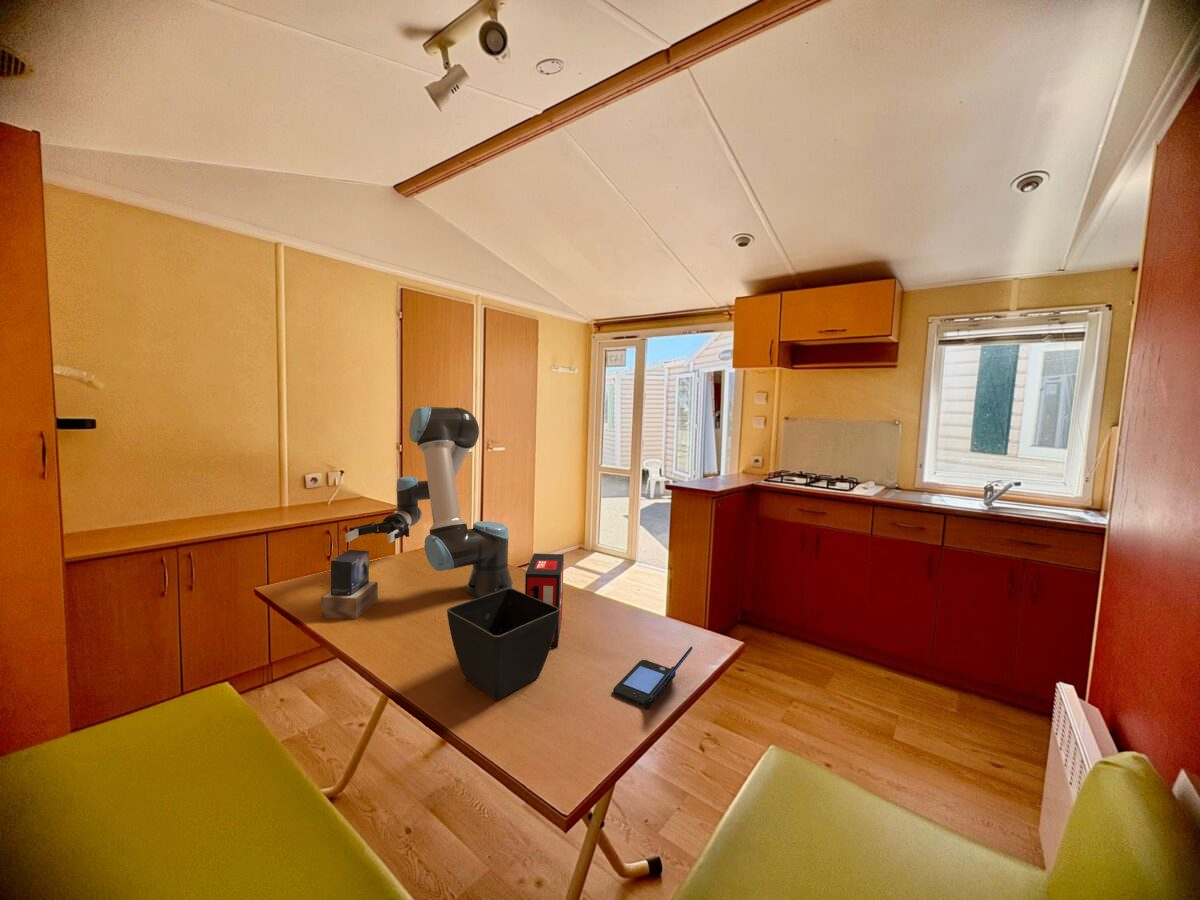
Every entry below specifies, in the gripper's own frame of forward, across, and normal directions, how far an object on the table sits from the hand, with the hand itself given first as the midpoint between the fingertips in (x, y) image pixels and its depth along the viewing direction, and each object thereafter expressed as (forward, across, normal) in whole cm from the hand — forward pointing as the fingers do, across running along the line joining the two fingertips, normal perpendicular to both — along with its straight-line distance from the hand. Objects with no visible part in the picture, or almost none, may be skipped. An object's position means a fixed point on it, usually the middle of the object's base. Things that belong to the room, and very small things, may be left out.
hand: (367, 538), depth 148 cm
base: (+10, 0, -19) cm, 22 cm away
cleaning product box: (+21, -60, -20) cm, 66 cm away
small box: (+11, 0, -13) cm, 17 cm away
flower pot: (+42, -53, -21) cm, 71 cm away
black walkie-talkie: (+45, -88, -22) cm, 101 cm away
